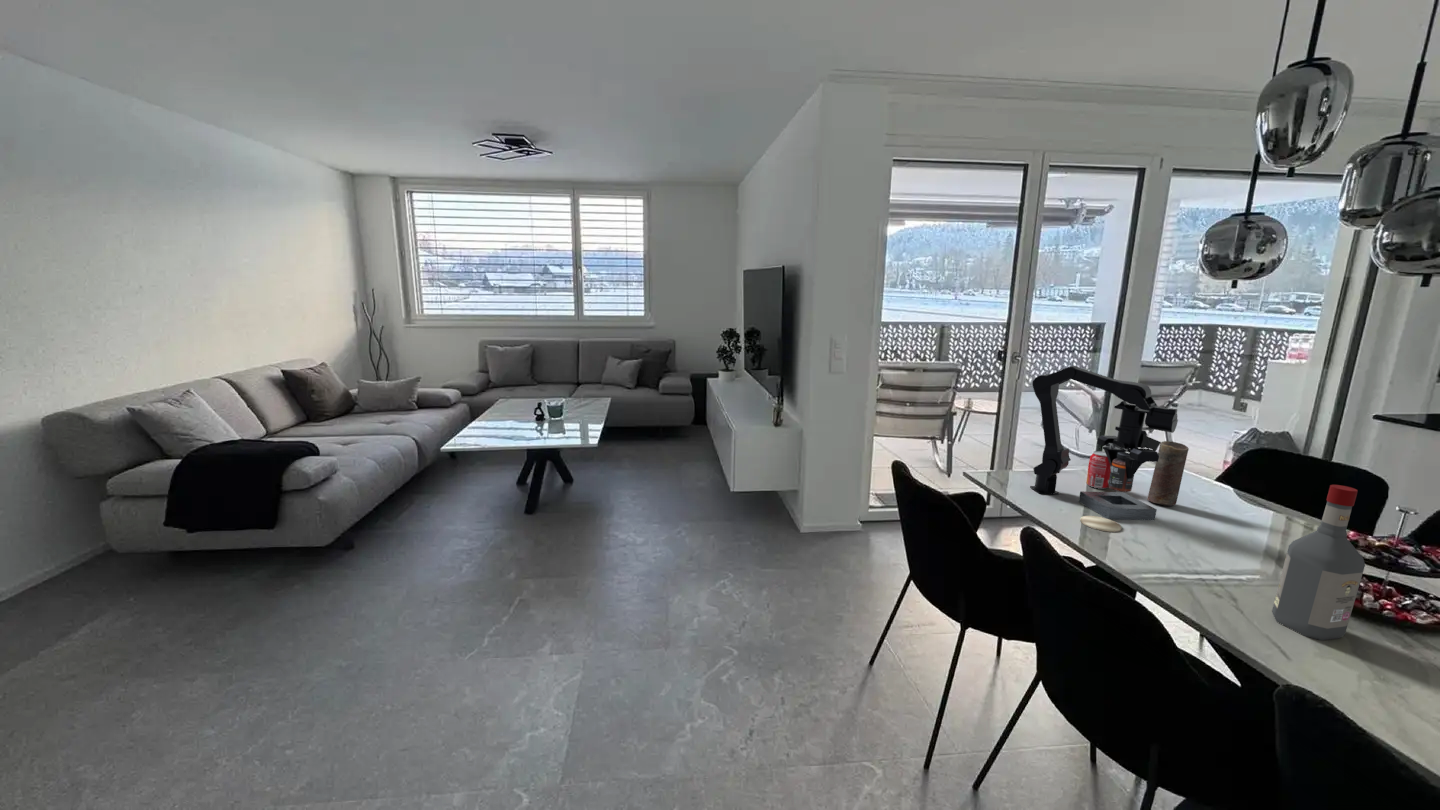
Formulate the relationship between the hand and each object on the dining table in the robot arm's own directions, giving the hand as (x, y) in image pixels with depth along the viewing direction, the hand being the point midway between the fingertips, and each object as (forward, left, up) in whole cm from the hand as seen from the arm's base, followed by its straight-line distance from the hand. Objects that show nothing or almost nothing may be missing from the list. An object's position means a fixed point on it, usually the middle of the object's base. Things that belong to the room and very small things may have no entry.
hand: (1121, 475), depth 174 cm
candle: (-7, +20, -12) cm, 24 cm away
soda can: (-22, +9, -12) cm, 27 cm away
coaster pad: (+11, -12, -12) cm, 20 cm away
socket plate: (0, 0, -12) cm, 12 cm away
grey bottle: (+61, -3, -12) cm, 62 cm away
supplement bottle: (0, 0, -5) cm, 5 cm away
